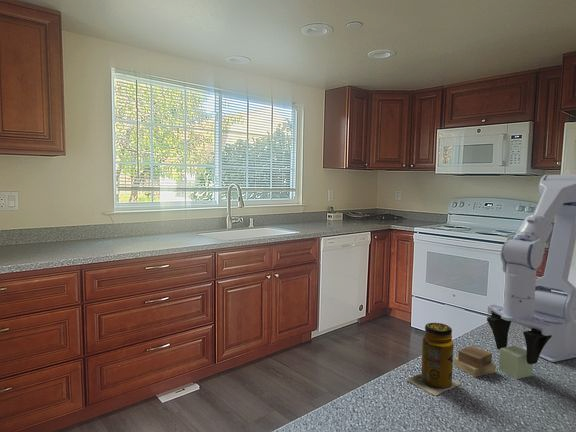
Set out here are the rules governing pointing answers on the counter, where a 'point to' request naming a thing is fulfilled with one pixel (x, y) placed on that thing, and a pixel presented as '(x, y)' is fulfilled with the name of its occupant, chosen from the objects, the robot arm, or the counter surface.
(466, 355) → the walnut slab
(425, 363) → the condiment
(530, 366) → the sage block
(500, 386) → the counter surface
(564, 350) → the robot arm
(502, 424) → the counter surface
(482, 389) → the counter surface
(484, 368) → the oak slab
